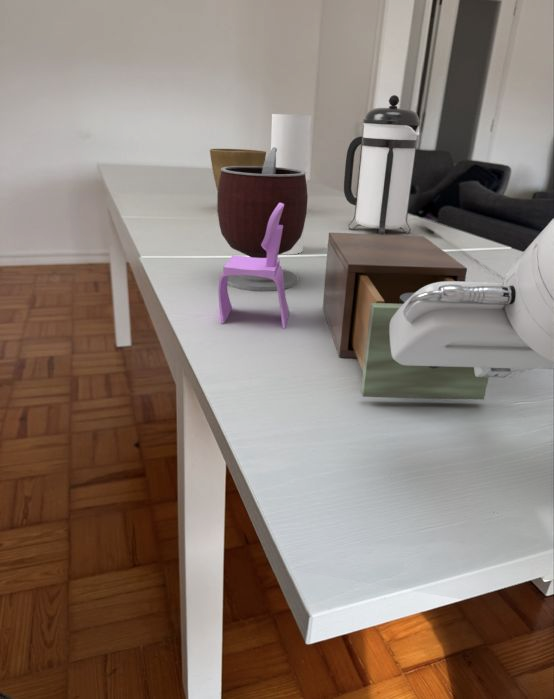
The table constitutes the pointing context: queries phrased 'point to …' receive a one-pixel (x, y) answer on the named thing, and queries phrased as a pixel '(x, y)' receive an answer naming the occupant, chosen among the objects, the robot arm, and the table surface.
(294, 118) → the cylindrical container
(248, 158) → the plant pot
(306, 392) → the table surface
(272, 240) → the toy chair
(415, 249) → the cabinet
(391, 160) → the coffee press
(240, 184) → the mate gourd
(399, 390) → the drawer
